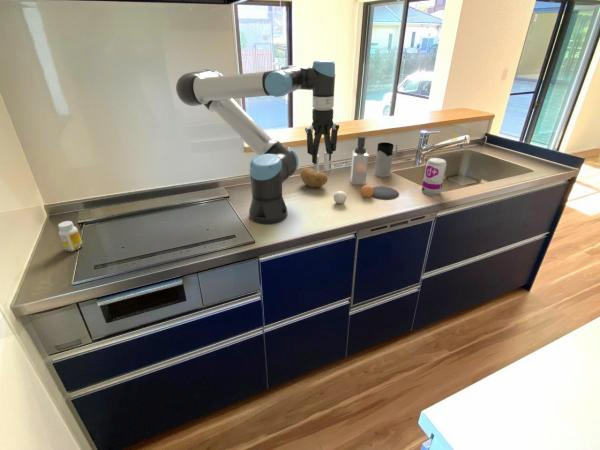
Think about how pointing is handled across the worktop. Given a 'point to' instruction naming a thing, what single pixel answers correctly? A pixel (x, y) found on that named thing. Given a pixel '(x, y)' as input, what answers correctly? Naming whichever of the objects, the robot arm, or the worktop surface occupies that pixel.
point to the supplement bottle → (69, 235)
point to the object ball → (367, 191)
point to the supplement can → (434, 176)
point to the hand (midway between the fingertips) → (321, 170)
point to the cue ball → (340, 197)
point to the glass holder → (384, 159)
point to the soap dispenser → (359, 163)
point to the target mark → (384, 193)
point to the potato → (313, 177)
